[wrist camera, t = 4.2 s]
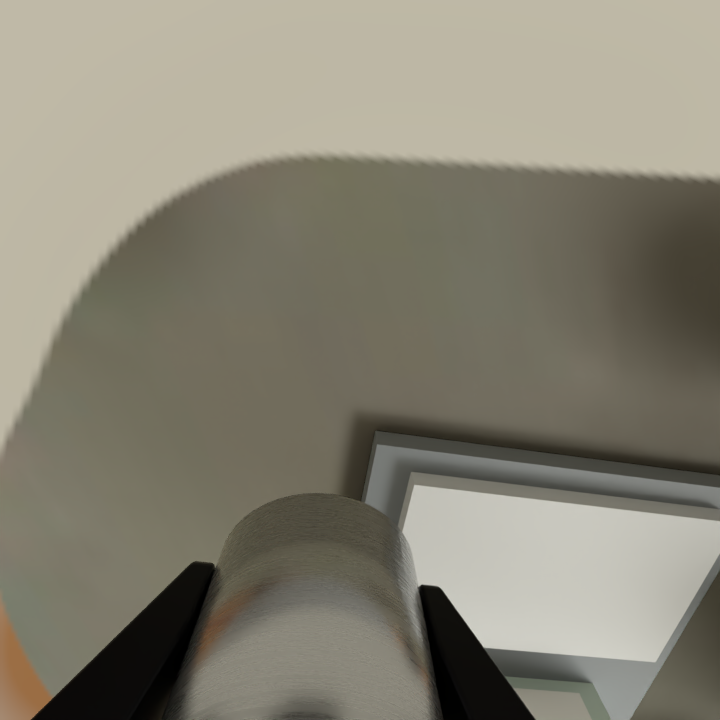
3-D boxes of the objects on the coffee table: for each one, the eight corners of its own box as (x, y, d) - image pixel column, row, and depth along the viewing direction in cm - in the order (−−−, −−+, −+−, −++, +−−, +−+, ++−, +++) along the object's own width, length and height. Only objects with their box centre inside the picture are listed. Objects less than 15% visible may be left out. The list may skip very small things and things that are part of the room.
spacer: (432, 506, 8) (504, 759, 4) (393, 648, 10) (423, 935, 6) (225, 481, 8) (114, 733, 4) (214, 632, 9) (124, 925, 6)
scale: (744, 478, 18) (899, 586, 13) (614, 705, 23) (689, 846, 18) (375, 430, 17) (388, 530, 12) (324, 683, 22) (317, 829, 17)
